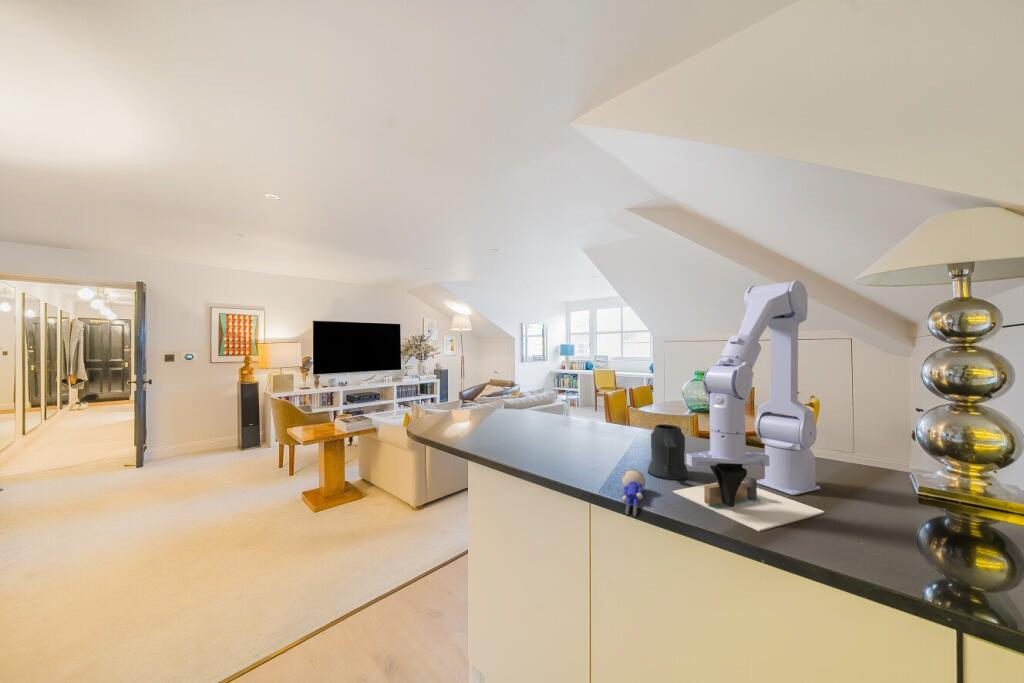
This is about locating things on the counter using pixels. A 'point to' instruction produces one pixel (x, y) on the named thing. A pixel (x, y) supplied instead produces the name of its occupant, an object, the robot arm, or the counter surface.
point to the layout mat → (756, 508)
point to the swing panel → (714, 493)
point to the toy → (632, 489)
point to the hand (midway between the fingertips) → (727, 504)
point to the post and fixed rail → (751, 488)
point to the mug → (668, 453)
